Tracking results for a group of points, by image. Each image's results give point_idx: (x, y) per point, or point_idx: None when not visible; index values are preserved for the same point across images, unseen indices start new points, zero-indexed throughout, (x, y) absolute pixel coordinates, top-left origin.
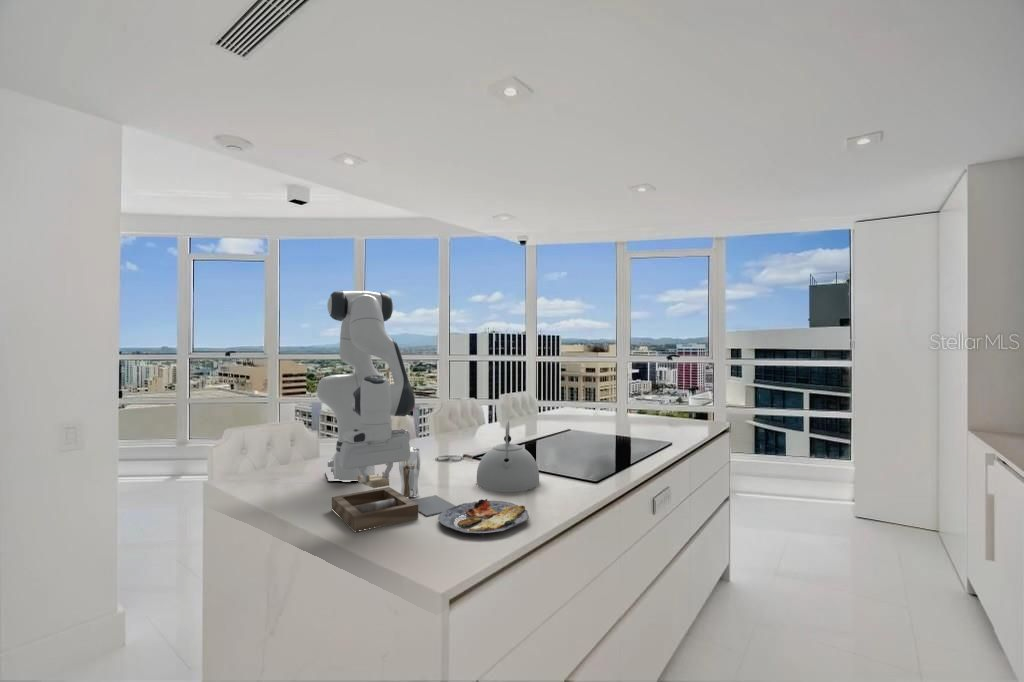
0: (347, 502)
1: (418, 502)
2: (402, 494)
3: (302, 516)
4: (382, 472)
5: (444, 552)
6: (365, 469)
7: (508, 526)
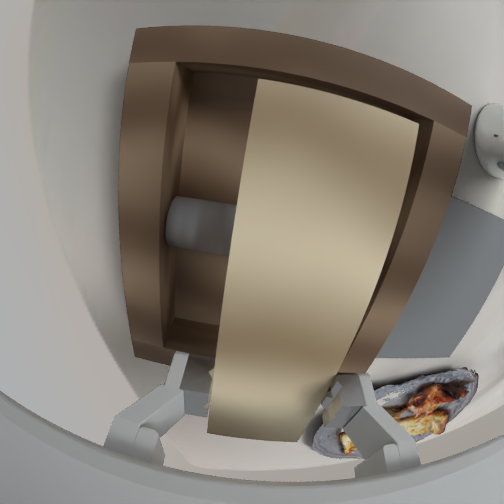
0: (155, 182)
1: (457, 248)
2: (482, 137)
3: (63, 60)
4: (339, 406)
5: (251, 449)
6: (161, 458)
7: None
